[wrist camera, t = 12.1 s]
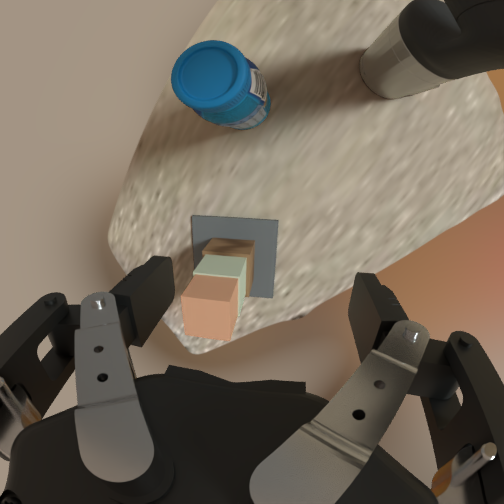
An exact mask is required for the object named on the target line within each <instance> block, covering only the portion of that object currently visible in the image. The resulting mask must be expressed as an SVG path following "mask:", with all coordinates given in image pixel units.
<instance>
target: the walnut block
mask: <svg viewBox="0 0 504 504" xmlns="http://www.w3.org/2000/svg"><path fill="white" fill-rule="evenodd" d="M206 254H208V255H220V256H233V257H245V258H247V259H246V294H245V297H249V295H250V291H251V287H252V283H253V279H254V254H255V240H242V239H228V238H212V239H211V240H210V242H209V243H208V244H207V245H206V247H205V248H204V249H203V251H202V256H203V257H204V256H205V255H206Z"/></svg>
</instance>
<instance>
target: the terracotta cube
mask: <svg viewBox="0 0 504 504" xmlns="http://www.w3.org/2000/svg"><path fill="white" fill-rule="evenodd" d="M181 304H182V312H183V321H184V329H185V335H190V336H196V337H203V338H210V339H217V340H224V341H230V340H231V336H232V333H233V330H234V326H235V323H236V320H237V316H238V278H229V277H218V276H208V275H198V274H195V276H194V277H193V279H192V280H191V282H190V283H189V285H188V286H187V288H186V289H185V290H184V292H183V293H182V295H181Z"/></svg>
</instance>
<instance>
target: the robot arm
mask: <svg viewBox="0 0 504 504" xmlns="http://www.w3.org/2000/svg"><path fill="white" fill-rule="evenodd" d="M444 1H445V3H444V2H442V1H439V0H413V1H412V2H410V3H409V4H408V5H407V6H406V7H405V8H404V9H403V10H402V12H401V13H400V14H399V15H398V16H397V17H396V18H395V19H394V20H393V21H392V22H391V24H390V25H389V26H388V27H387V28H386V29H385V30H384V31H383V32H382V33H381V35H380V36H379V37H378V38H377V39H376V40H375V41H374V42H373V44H372V45H371V46H370V47H369V48H368V49H367V50H366V51H365V52H364V54H363V55H362V57H361V59H360V65H359V68H360V73H361V76H362V78H363V80H364V82H365V84H366V85H367V86H368V87H369V88H370V89H371V90H372V91H373V92H374V93H376V94H378V95H379V96H382V97H384V98H388V99H397V98H401V97H404V96H407V95H411V96H412V95H415V94H418V93H421V92H425V91H428V90H431V89H434V88H437V87H439V86H440V84H443V83H446V82H449V81H452V80H455V79H459V78H463V77H466V76H470V75H474V74H478V73H482V72H487V71H490V70H497V69H504V0H444ZM174 294H175V287H174V277H173V267H172V260H171V258H170V257H164V256H153V257H151V258H150V259H149V260H148V261H147V262H146V263H145V264H144V265H141V266H139V267H137V268H135V269H133V270H132V271H131V272H130V273H129V274H128V275H127V276H126V277H125V278H123V280H121V281H120V282H119V283H118V284H117V285H116V286H115V287H114V288H113V289H112V290H110V292H96V293H93V294H91V295H88V296H87V297H85V298H84V299H83V300H82V302H81V305H68V304H67V300H66V297H65V295H64V294H62V293H57V292H56V293H50V294H47V295H45V296H43V297H41V298H40V299H39V300H38V301H37V302H35V303H34V304H33V305H32V306H31V307H30V308H29V309H28V310H26V311H25V312H24V313H23V314H22V315H21V316H20V317H19V318H18V319H17V320H16V321H15V322H13V323H12V325H10V326H9V327H8V328H7V329H6V330H5V331H4V332H3V333H2V334H1V335H0V457H1V458H3V459H4V460H6V461H10V463H9V473H8V478H7V483H6V486H5V489H4V491H3V493H2V495H1V496H0V504H504V384H503V383H502V381H501V379H500V377H499V375H498V374H497V372H496V370H495V368H494V366H493V364H492V363H491V361H490V359H489V358H488V356H487V354H486V353H485V351H484V349H483V348H482V346H481V345H480V343H479V342H478V340H477V339H476V338H475V337H474V336H472V335H470V334H469V333H466V332H463V331H455V332H453V333H451V335H450V337H449V339H448V341H447V342H444V341H438V340H434V339H430V335H429V332H428V330H427V329H426V328H425V327H424V326H422V325H421V324H419V323H417V322H414V321H410V320H409V319H408V317H407V315H406V313H405V312H404V310H403V308H402V307H401V305H400V303H399V301H398V300H397V298H396V296H395V295H394V293H393V291H391V290H390V289H389V288H387V287H386V286H385V285H381V284H380V282H379V280H378V279H377V277H376V275H375V274H374V273H359V272H358V273H357V274H356V276H355V280H354V285H353V290H352V294H351V299H350V303H349V309H348V316H349V321H350V324H351V328H352V331H353V335H354V339H355V343H356V346H357V350H358V354H359V358H360V361H361V365H360V366H359V368H358V369H357V370H356V371H355V372H354V374H353V375H352V376H351V377H350V379H349V380H348V381H347V382H346V383H345V385H344V386H343V387H342V388H341V390H339V392H338V393H337V394H336V395H335V396H334V397H333V399H332V400H331V401H330V402H329V401H328V400H326V399H324V398H322V397H319V396H317V395H314V394H311V393H307V392H306V386H305V385H306V383H305V382H294V381H279V380H264V381H252V382H238V383H235V382H229V381H227V380H224V379H221V378H218V377H216V376H213V375H210V374H208V373H205V372H202V371H199V370H193V369H188V368H182V367H177V366H172V365H169V366H168V368H167V370H166V372H165V374H153V375H147V376H143V377H139V378H137V377H136V373H135V370H134V367H133V363H132V359H131V356H130V352H129V349H128V348H129V346H130V345H134V346H138V347H142V346H143V345H144V343H145V342H146V340H147V339H148V337H149V336H150V334H151V333H152V331H153V329H154V328H155V326H156V325H157V323H158V322H159V321H160V319H161V318H162V316H163V315H164V313H165V312H166V310H167V309H168V307H169V306H170V305H171V303H172V301H173V299H174ZM47 335H48V337H49V339H50V342H51V344H52V346H53V347H52V349H51V350H50V351H49V352H48V353H47V354H46V356H45V357H44V358H43V359H42V361H41V362H40V360H39V358H38V355H37V348H38V346H39V344H40V343H41V342H42V341H43V339H44V338H45V337H46V336H47ZM74 370H75V375H76V390H77V401H78V405H77V406H74V407H72V408H69V409H67V410H65V411H62V412H60V413H57V414H55V415H53V416H50V417H48V418H45V419H43V420H42V418H43V417H44V415H45V413H46V412H47V410H48V409H49V407H50V406H51V404H52V403H53V401H54V399H55V398H56V396H57V395H58V393H59V392H60V390H61V389H62V388H63V386H64V384H65V383H66V382H67V380H68V379H69V377H70V376H71V374H72V373H73V372H74ZM458 387H460V389H461V391H462V394H463V403H462V406H461V405H460V403H459V400H458V397H457V395H456V390H457V389H458ZM406 394H411V395H417V396H420V398H421V401H422V405H423V408H424V412H425V416H426V419H427V423H428V427H429V431H430V435H431V440H432V444H433V448H434V453H435V458H436V463H437V468H438V471H437V472H436V473H435V475H434V477H433V479H432V486H431V489H429V488H428V487H427V486H426V485H425V484H424V483H422V482H421V481H420V480H418V478H416V477H415V476H414V475H413V474H412V473H410V472H409V471H408V470H407V469H406V468H404V467H403V466H402V465H401V464H400V463H399V462H398V461H396V460H395V459H394V458H393V457H392V456H391V455H390V454H388V453H387V452H386V451H385V450H384V449H383V448H382V447H380V446H379V445H378V443H379V441H380V440H381V438H382V437H383V435H384V433H385V432H386V430H387V428H388V427H389V425H390V423H391V422H392V420H393V418H394V416H395V415H396V413H397V411H398V409H399V407H400V405H401V403H402V401H403V400H404V398H405V396H406Z"/></svg>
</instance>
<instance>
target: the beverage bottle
mask: <svg viewBox="0 0 504 504" xmlns="http://www.w3.org/2000/svg"><path fill="white" fill-rule="evenodd" d="M171 83H172V88H173V90H174V93H175V94H176V96H177V97H178V98H179V100H181V102H183V103H184V104H186V105H187V106H188V107H191V108H193V110H194V111H195V112H196V113H197V114H198V115H199V116H200V117H202V118H203V119H205V120H207V121H210V122H212V123H214V124H217V125H220V126H227V127H232V128H235V129H240V130H245V129H251V128H254V127H256V126H258V125H259V124H261V123H262V122H263V121H264V120H265V118H266V117H267V115H268V113H269V111H270V106H271V101H270V96H269V94H268V92H267V86H266V82H265V80H264V78H263V76H262V74H261V73H260V71H259V69H258V68H257V67H256V65H255V64H254V63H253V62H251V61H250V60H249V59H247V58H245V57H244V55H243V54H242V53H241V52H240V51H239V50H238V49H237V48H236V47H234V46H233V45H231V44H229V43H226V42H223V41H217V40H210V41H204V42H200V43H197V44H195V45H193V46H191V47H190V48H188V49H187V50H185V51H184V52H183V53H182V54H181V55H180V57H179V58H178V59H177V61H176V63H175V65H174V67H173V70H172V74H171Z"/></svg>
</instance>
